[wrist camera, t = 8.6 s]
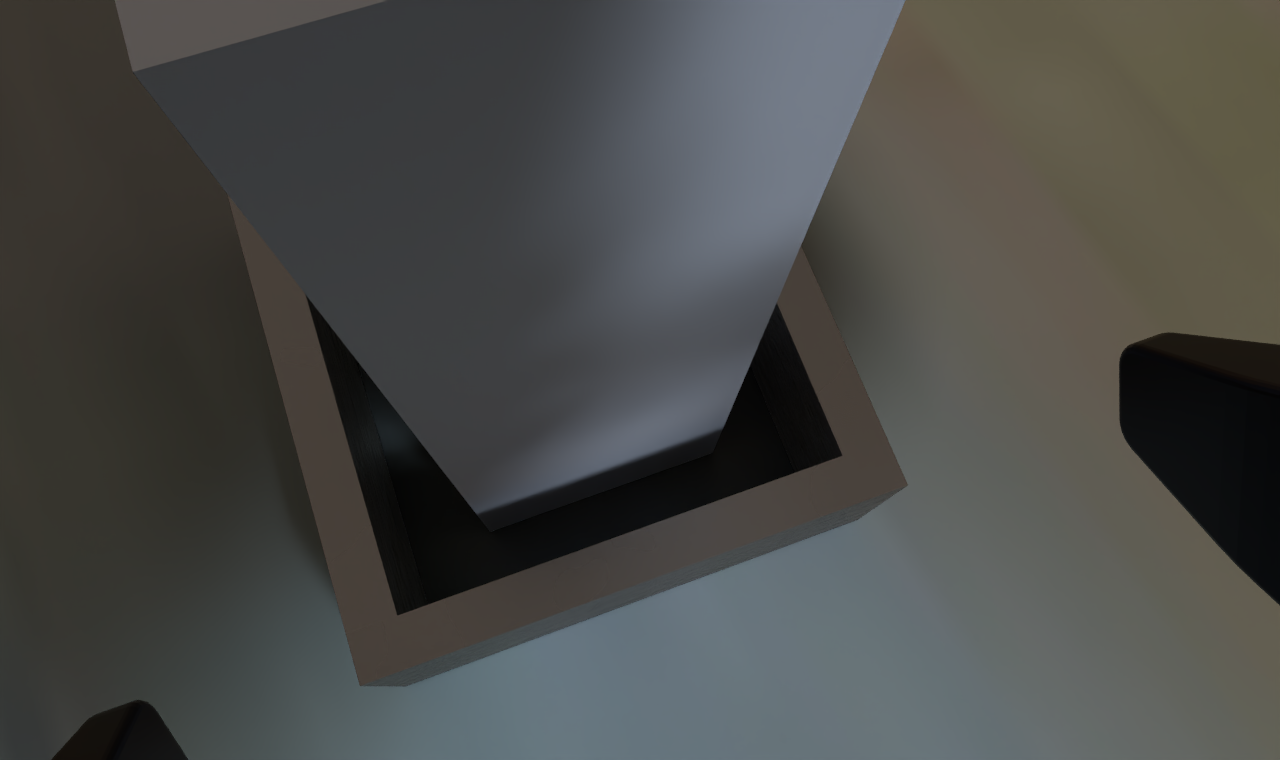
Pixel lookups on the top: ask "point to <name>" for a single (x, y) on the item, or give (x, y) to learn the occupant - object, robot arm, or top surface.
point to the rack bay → (586, 579)
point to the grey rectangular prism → (527, 202)
